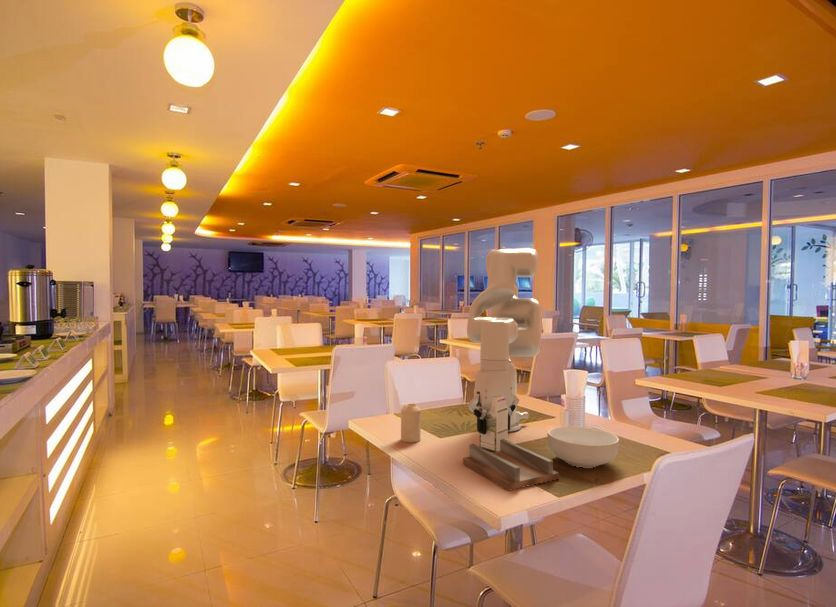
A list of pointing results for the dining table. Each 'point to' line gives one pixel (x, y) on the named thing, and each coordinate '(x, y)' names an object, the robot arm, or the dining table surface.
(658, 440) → the dining table surface
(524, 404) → the dining table surface
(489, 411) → the syrup box
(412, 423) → the candle
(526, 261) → the robot arm
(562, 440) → the cereal bowl
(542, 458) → the track board
